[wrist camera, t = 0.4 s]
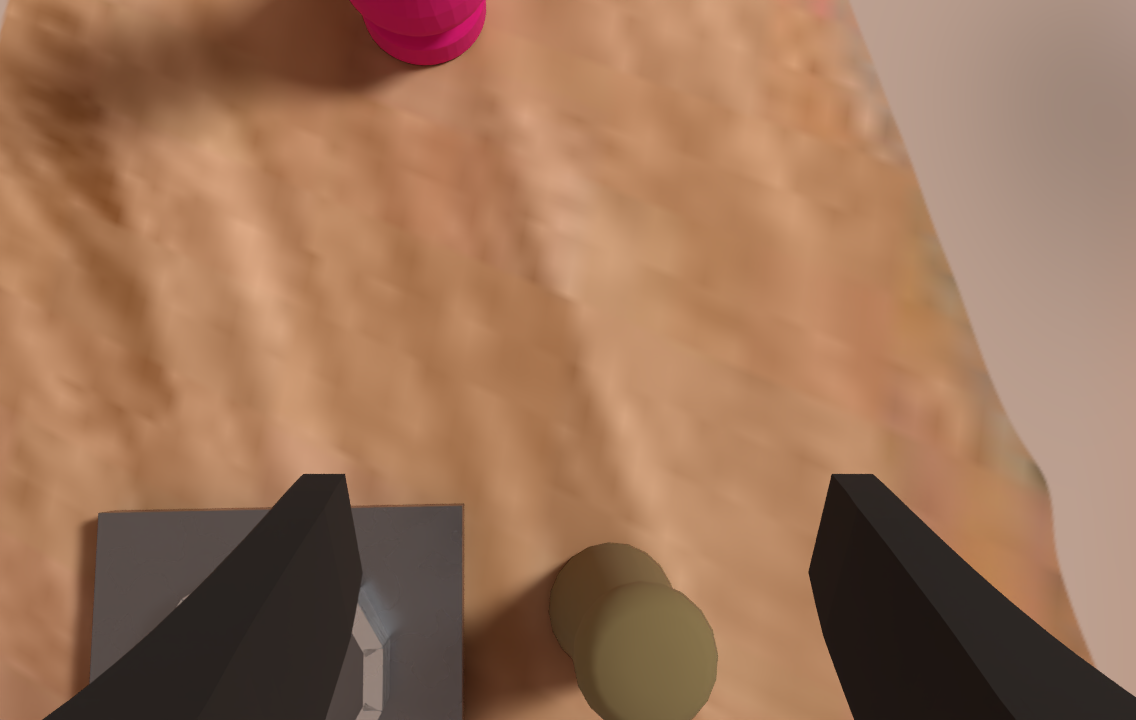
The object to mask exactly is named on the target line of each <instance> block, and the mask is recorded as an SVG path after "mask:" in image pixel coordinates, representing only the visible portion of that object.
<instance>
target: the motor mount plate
mask: <svg viewBox="0 0 1136 720" xmlns="http://www.w3.org/2000/svg"><path fill="white" fill-rule="evenodd" d="M271 508H272V507H271ZM271 508H221V509H170V510H120V511H109V512H102V513H98V532H97V551H96V570H95V589H94V608H93V627H92V646H91V664H90V683H91V682H93V681H94V680H95V679H96V678H97V677H99V676H100V675H101V674H102V673H104V672H105V671H106V670H107V669H108V668H110V667H111V666H112V665H113V664H114V663H116V662H117V661H118V660H119V659H120V658H121V657H123V656H124V655H125V654H126V653H127V652H128V651H130V650H131V649H132V648H133V647H134V646H135V645H136V644H137V643H139V642H140V641H141V640H142V639H143V638H144V637H145V636H146V635H148V634H149V633H150V632H151V631H152V630H153V629H154V628H155V627H156V626H157V625H158V624H159V623H160V622H161V621H162V620H164V619H165V618H166V617H167V616H168V615H169V614H170V613H171V612H172V611H173V610H174V609H175V608H176V607H177V606H178V605H179V604H180V603H181V602H182V601H183V600H184V599H186V598H187V597H188V596H189V595H190V594H191V593H192V592H193V591H194V590H195V589H196V588H197V587H198V586H199V585H200V584H201V583H202V582H203V581H204V580H205V579H206V578H207V577H208V576H209V575H210V574H211V573H212V572H213V571H214V570H215V569H216V567H217V566H218V565H219V564H220V563H221V562H222V561H223V560H224V559H225V558H226V557H227V556H228V555H229V554H230V553H231V552H232V551H233V550H234V549H235V548H236V547H237V546H238V545H239V543H240V542H241V541H242V540H243V539H244V538H245V537H246V536H247V535H248V534H249V533H250V532H251V530H252V529H253V528H254V527H255V526H256V525H257V524H258V523H259V522H260V521H261V520H262V518H263V517H264V516H265V515H266V514H267V513H268V512H269V511H270V510H271ZM351 511H352V516H353V522H354V527H355V533H356V538H357V544H358V549H359V555H360V560H361V566H362V571H363V574H362V580H361V586H360V592H359V597H358V603H357V609H356V614H355V619H354V624H353V629H352V634H351V639H350V642H349V645H348V649H347V652H346V655H345V659H344V662H343V665H342V668H341V672H340V675H339V678H338V681H337V684H336V688H335V691H334V694H333V697H332V700H331V703H330V707H329V710H328V713H327V716H326V719H325V720H464V504H422V505H372V506H351ZM90 683H89V684H90Z"/></svg>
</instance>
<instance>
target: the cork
mask: <svg viewBox="0 0 1136 720" xmlns="http://www.w3.org/2000/svg"><path fill="white" fill-rule="evenodd" d="M549 615H550V620H551V625H552V630H553V633H554V634H555V636H556V638H557V640H558V642H559V643H560V645H561V647H562V649H563V650H564V651H565V652H566V653H567V654H568V655H569V656H570V657H571V658H572V659H573V663H574V668H575V673H576V678H577V682H578V686H579V688H580V690H581V692H582V694H583V695H584V697H585V699H586V701H587V703H588V704H589V706H590V707H591V708H592V709H593V710H594V711H595V712H596V713H597V714H598V715H599V716H600V717H601V718H603V719H604V720H691V719H693V718H694V717H695V716H696V714H697V713H698V712H699V711H700V709H701V708H702V707H703V706H704V705H705V703H706V702H707V701H708V699H709V696H710V694H711V691H712V689H713V686H714V684H715V681H716V675H717V662H718V652H717V648H716V643H715V639H714V634H713V630H712V628H711V626H710V625H709V623H708V621H707V619H706V618H705V616H704V614H703V612H702V611H701V609H699V608H698V607H697V606H696V605H695V604H694V603H693V602H692V601H691V600H690V599H689V598H687V597H686V596H685V595H684V594H683V593H681V592H679V591H677V590H675V589H673V588H672V586H671V583H670V582H669V580H668V578H667V576H666V575H665V573H664V571H663V569H662V568H661V566H660V565H659V564H658V563H657V562H656V561H655V560H653V559H652V558H651V557H650V556H649V555H648V554H647V553H646V552H644V551H641V550H639V549H637V548H635V547H632V546H630V545H628V544H618V543H604V544H600V545H596V546H591V547H588V548H587V549H585V550H583V551H582V552H580V553H578V554H577V555H575V556H573V557H572V558H571V559H570V560H569V562H568V563H567V564H566V565H565V566H564V567H563V568H562V570H561V571H560V572H559V574H558V576H557V578H556V581H555V583H554V585H553V588H552V590H551V596H550V605H549Z"/></svg>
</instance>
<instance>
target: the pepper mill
mask: <svg viewBox="0 0 1136 720" xmlns="http://www.w3.org/2000/svg"><path fill="white" fill-rule="evenodd" d="M349 1H350V2H351V3H352V4H353V6H354V7H355V8H356V9H357V10H358V11H359V12H360V13H361V14H362V16H363V19H364V22H365V25H366V27H367V29H368V31H369V33H370V35H371V37H372V38H373V40H374V41H375V42H376V43H377V44H378V45H379V46H380V48H382V49H383V50H384V51H385V52H387V53H388V54H389V55H391V56H393V57H395V58H397V59H399V60H401V61H404V62H407V63H411V64H416V65H435V64H440V63H444V62H447V61H449V60H452V59H454V58H456V57H458V56H459V55H461V54H462V53H464V52H465V51H466V50H467V49H468V48H470V47H471V45H472V44H473V43H474V42H475V41H476V39H477V37H478V36H479V34H480V32H481V30H482V28H483V25H484V21H485V15H486V0H349Z"/></svg>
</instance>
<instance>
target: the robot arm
mask: <svg viewBox="0 0 1136 720" xmlns="http://www.w3.org/2000/svg"><path fill="white" fill-rule="evenodd" d="M362 574H363V571H362V566H361V560H360V555H359V549H358V544H357V538H356V533H355V527H354V522H353V516H352V511H351V505H350V500H349V494H348V488H347V483H346V477H345V474H303V475H302V476H301V477H300V478H299V479H298V480H297V481H296V482H295V483H294V484H293V485H292V486H291V487H290V488H289V489H288V491H287V492H286V493H285V494H284V495H283V496H282V497H281V498H280V499H279V501H278V502H277V503H276V504H275V505H274V506H273V507H272V508H271V510H270V511H269V512H268V513H267V514H266V515H265V516H264V517H263V518H262V520H261V521H260V522H259V523H258V524H257V525H256V526H255V527H254V528H253V529H252V530H251V532H250V533H249V534H248V535H247V536H246V537H245V538H244V539H243V540H242V541H241V542H240V543H239V545H238V546H237V547H236V548H235V549H234V550H233V551H232V552H231V553H230V554H229V555H228V556H227V557H226V558H225V559H224V560H223V561H222V562H221V563H220V564H219V565H218V566H217V567H216V569H215V570H214V571H213V572H212V573H211V574H210V575H209V576H208V577H207V578H206V579H205V580H204V581H203V582H202V583H201V584H200V585H199V586H198V587H197V588H196V589H195V590H194V591H193V592H192V593H191V594H190V595H189V596H188V597H187V598H186V599H184V600H183V601H182V602H181V603H180V604H179V605H178V606H177V607H176V608H175V609H174V610H173V611H172V612H171V613H170V614H169V615H168V616H167V617H166V618H165V619H164V620H162V621H161V622H160V623H159V624H158V625H157V626H156V627H155V628H154V629H153V630H152V631H151V632H150V633H149V634H148V635H146V636H145V637H144V638H143V639H142V640H141V641H140V642H139V643H137V644H136V645H135V646H134V647H133V648H132V649H131V650H130V651H128V652H127V653H126V654H125V655H124V656H123V657H121V658H120V659H119V660H118V661H117V662H116V663H114V664H113V665H112V666H111V667H110V668H108V669H107V670H106V671H105V672H104V673H102V674H101V675H100V676H99V677H97V678H96V679H95V680H94V681H93V682H91V683H90V684H89V685H88V686H87V687H85V688H84V689H83V690H81V691H80V692H79V693H78V694H76V695H75V696H74V697H73V698H71V699H70V700H69V701H67V702H66V703H64V704H63V705H62V706H60V707H59V708H58V709H56V710H55V711H54V712H52V713H51V714H49V715H48V716H47V717H45V718H44V719H43V720H325V719H326V716H327V713H328V710H329V707H330V703H331V700H332V697H333V694H334V691H335V688H336V684H337V681H338V678H339V675H340V672H341V668H342V665H343V662H344V659H345V655H346V652H347V649H348V645H349V642H350V639H351V634H352V629H353V624H354V619H355V614H356V609H357V603H358V597H359V592H360V586H361V580H362ZM809 577H810V581H811V586H812V590H813V595H814V599H815V604H816V608H817V612H818V616H819V620H820V624H821V628H822V633H823V636H824V639H825V642H826V645H827V648H828V650H829V653H830V656H831V659H832V661H833V664H834V667H835V670H836V672H837V675H838V678H839V680H840V683H841V686H842V689H843V691H844V694H845V697H846V699H847V702H848V704H849V707H850V710H851V712H852V715H853V718H854V720H1136V697H1135V696H1133V695H1132V694H1130V693H1129V692H1127V691H1126V690H1124V689H1123V688H1122V687H1120V686H1119V685H1118V684H1116V683H1115V682H1114V681H1112V680H1111V679H1109V678H1108V677H1107V676H1105V675H1104V674H1103V673H1101V672H1100V671H1098V670H1097V669H1096V668H1094V667H1093V666H1092V665H1090V664H1089V663H1087V662H1086V661H1085V660H1083V659H1082V658H1081V657H1079V656H1078V655H1077V654H1075V653H1074V652H1073V651H1071V650H1070V649H1069V648H1067V647H1066V646H1065V645H1064V644H1062V643H1061V642H1060V641H1058V640H1057V639H1056V638H1055V637H1053V636H1052V635H1051V634H1049V633H1048V632H1047V631H1046V630H1045V629H1043V628H1042V627H1041V626H1040V625H1039V624H1037V623H1036V622H1035V621H1034V620H1032V619H1031V618H1030V617H1029V616H1028V615H1026V614H1025V613H1024V612H1023V611H1022V610H1020V609H1019V608H1018V607H1017V606H1016V605H1014V604H1013V603H1012V602H1011V601H1009V600H1008V599H1007V598H1006V597H1005V596H1004V595H1003V594H1001V593H1000V592H999V591H998V590H997V589H996V588H994V587H993V586H992V585H991V584H990V583H989V582H988V581H987V580H985V579H984V578H983V577H982V576H981V575H980V574H979V573H978V572H976V571H975V570H974V569H973V568H972V567H971V566H970V565H969V564H968V563H967V562H965V561H964V560H963V559H962V558H961V557H960V556H959V555H958V554H957V553H956V552H955V551H953V550H952V549H951V548H950V547H949V546H948V545H947V544H946V543H945V542H944V541H943V540H942V539H941V538H940V537H939V536H937V535H936V534H935V533H934V532H933V531H932V530H931V529H930V528H929V527H928V526H927V525H926V524H925V523H924V522H923V521H922V520H921V519H920V518H919V517H918V516H917V515H916V514H914V513H913V512H912V511H911V510H910V509H909V508H908V507H907V506H906V505H905V504H904V503H903V502H902V501H901V500H900V499H899V498H898V497H897V496H896V495H895V494H894V493H893V492H892V491H891V490H890V489H888V488H887V487H886V486H885V485H884V484H883V483H882V482H881V481H880V480H879V479H878V478H877V477H876V476H874V475H873V474H832V475H831V480H830V484H829V488H828V492H827V496H826V501H825V505H824V509H823V513H822V517H821V522H820V526H819V530H818V534H817V538H816V543H815V547H814V551H813V555H812V559H811V564H810V568H809Z"/></svg>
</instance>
